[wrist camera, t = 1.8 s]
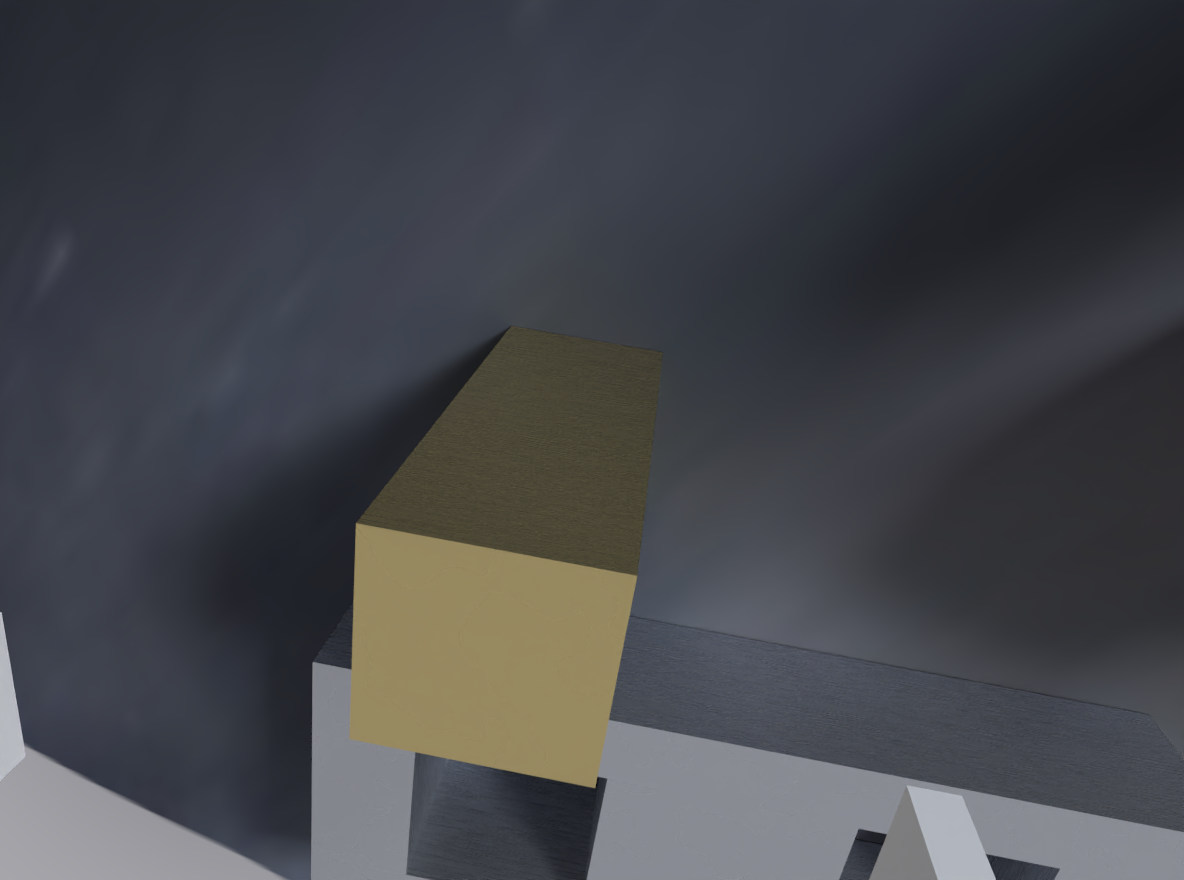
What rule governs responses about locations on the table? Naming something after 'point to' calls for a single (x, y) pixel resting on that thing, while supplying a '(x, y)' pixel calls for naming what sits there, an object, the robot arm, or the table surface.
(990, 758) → the white peg board
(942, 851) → the robot arm
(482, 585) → the gold square peg
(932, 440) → the table surface
